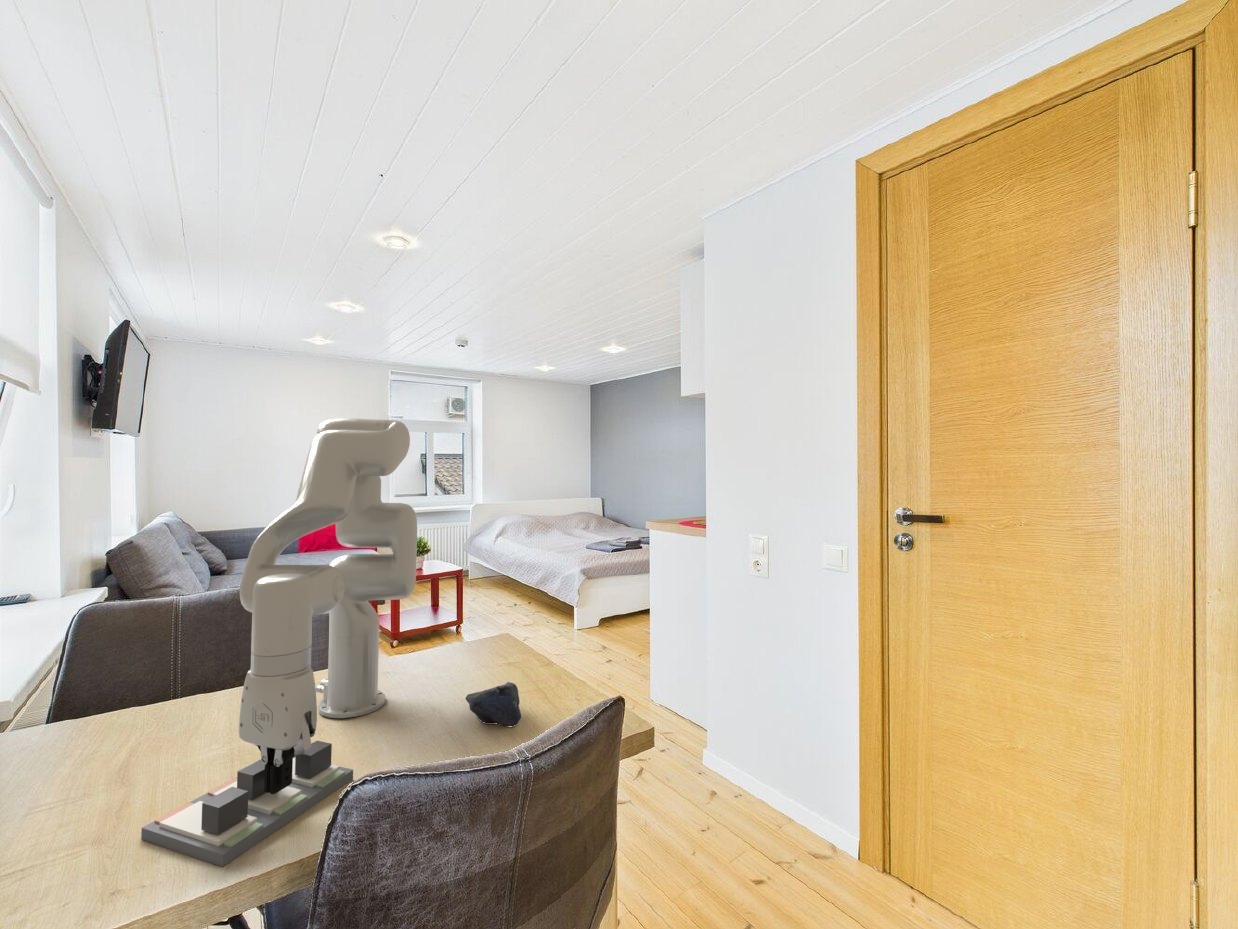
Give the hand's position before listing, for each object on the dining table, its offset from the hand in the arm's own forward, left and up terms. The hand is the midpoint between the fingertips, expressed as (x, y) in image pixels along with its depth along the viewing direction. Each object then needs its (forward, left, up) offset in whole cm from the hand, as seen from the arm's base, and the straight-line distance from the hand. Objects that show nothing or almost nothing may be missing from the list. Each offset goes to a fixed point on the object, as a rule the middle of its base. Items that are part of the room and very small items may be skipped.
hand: (278, 788), depth 80 cm
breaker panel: (-4, 0, -3) cm, 5 cm away
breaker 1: (-1, -7, -1) cm, 7 cm away
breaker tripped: (-4, 0, -1) cm, 4 cm away
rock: (+12, +37, -4) cm, 39 cm away
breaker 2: (-1, +7, -1) cm, 7 cm away
